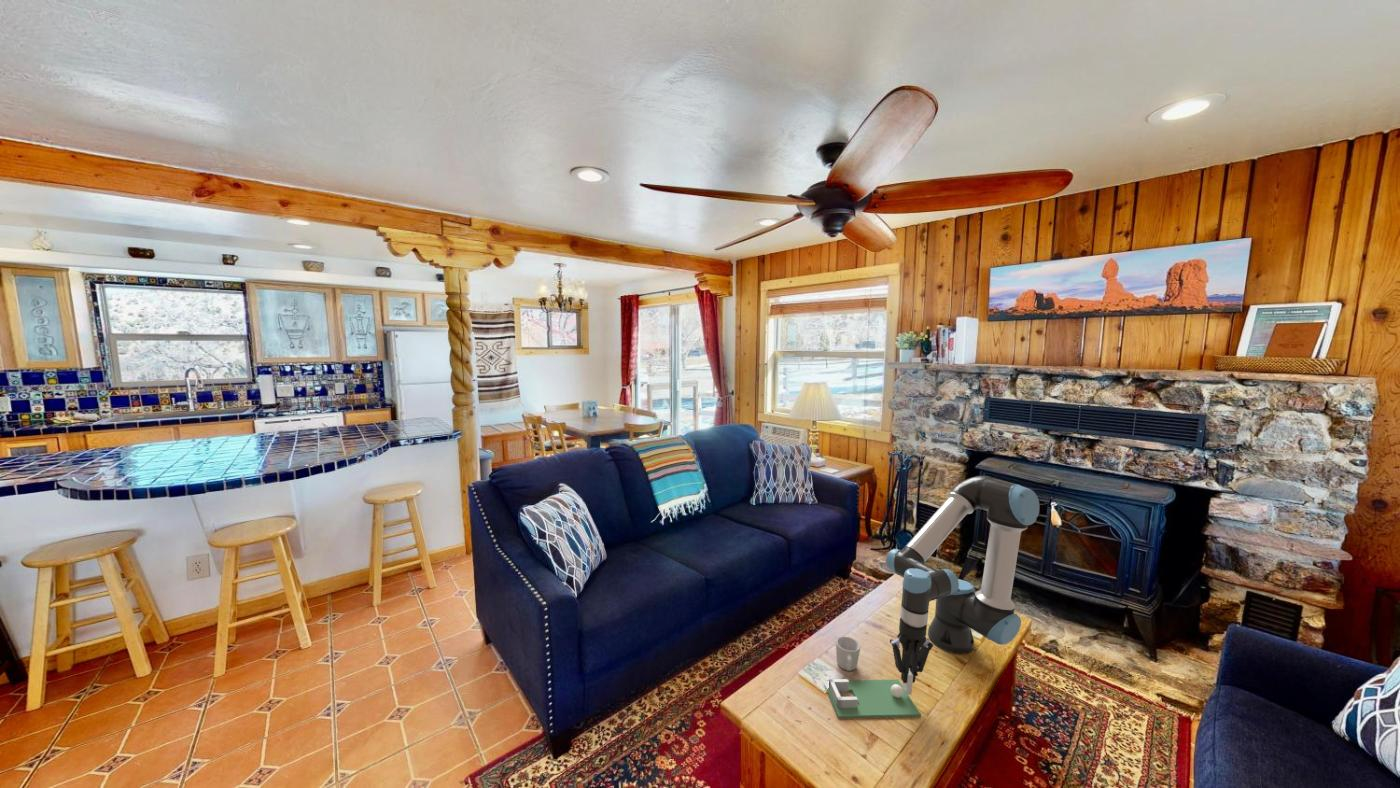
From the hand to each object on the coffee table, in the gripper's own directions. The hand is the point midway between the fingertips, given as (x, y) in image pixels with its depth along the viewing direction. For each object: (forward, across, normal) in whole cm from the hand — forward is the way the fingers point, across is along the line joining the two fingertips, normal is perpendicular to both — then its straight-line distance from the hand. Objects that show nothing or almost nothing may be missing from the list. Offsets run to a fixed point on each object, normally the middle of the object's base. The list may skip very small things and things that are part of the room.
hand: (906, 691), depth 143 cm
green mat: (+3, +12, 0) cm, 12 cm away
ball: (0, +3, 0) cm, 3 cm away
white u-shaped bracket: (+3, +20, 0) cm, 20 cm away
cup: (+3, +14, -14) cm, 20 cm away
